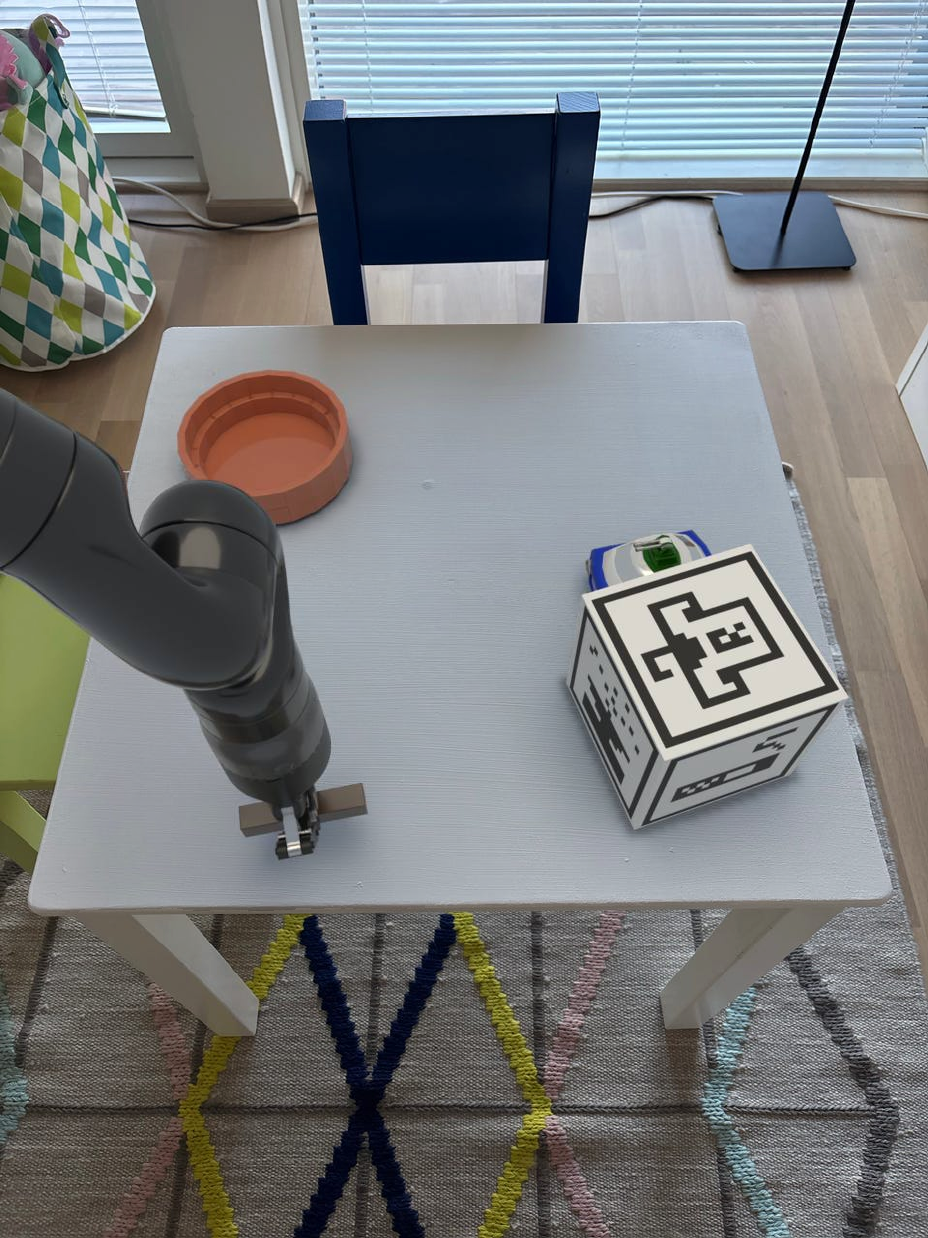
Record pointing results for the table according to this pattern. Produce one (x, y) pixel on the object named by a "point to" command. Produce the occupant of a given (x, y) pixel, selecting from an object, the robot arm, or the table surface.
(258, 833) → the stick
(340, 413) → the bowl
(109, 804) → the table surface
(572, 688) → the block
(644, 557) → the toy car
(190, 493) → the robot arm
